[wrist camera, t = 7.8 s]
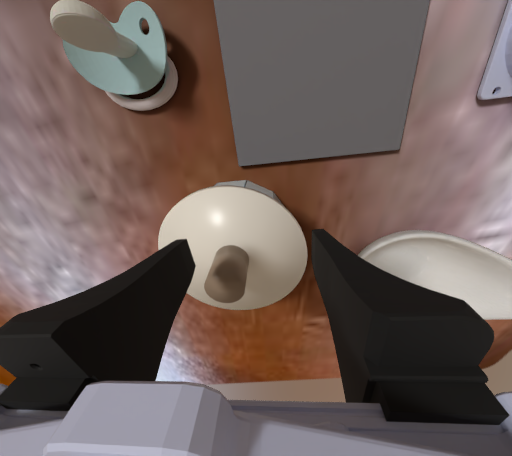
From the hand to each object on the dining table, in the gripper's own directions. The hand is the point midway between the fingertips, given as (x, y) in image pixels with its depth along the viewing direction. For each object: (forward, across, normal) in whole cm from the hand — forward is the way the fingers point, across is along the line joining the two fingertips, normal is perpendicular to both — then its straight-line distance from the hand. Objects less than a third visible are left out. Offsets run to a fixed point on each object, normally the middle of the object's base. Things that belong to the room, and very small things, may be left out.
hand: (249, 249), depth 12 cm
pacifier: (+11, +8, -11) cm, 18 cm away
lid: (+5, +3, +4) cm, 7 cm away
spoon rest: (+11, -20, +10) cm, 25 cm away
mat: (+10, -6, -10) cm, 15 cm away
